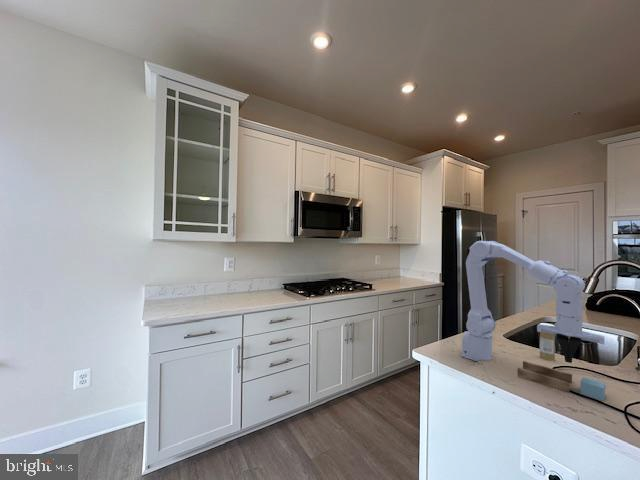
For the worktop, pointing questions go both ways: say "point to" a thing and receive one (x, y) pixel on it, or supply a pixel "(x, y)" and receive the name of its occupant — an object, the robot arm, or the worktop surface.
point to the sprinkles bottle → (547, 344)
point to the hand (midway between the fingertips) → (568, 361)
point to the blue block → (592, 388)
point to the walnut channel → (546, 376)
